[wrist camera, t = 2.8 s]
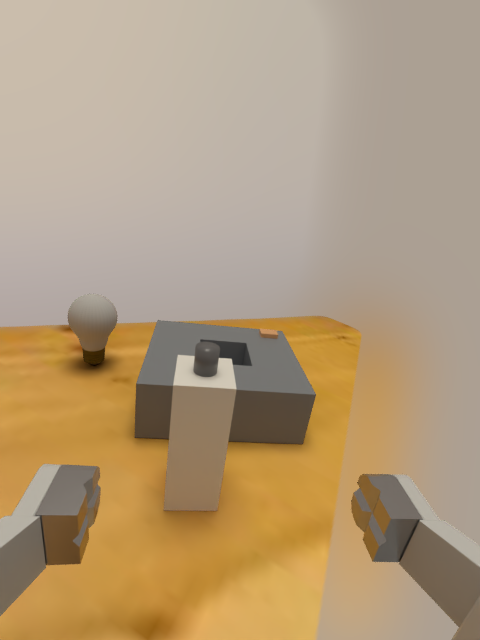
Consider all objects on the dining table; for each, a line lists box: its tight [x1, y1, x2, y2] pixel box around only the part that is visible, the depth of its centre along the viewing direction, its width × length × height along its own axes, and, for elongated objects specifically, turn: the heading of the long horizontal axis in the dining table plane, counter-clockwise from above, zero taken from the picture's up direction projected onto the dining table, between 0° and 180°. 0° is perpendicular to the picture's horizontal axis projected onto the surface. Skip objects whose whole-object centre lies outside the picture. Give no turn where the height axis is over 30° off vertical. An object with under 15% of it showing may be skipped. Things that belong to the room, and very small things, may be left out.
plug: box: [164, 342, 237, 511], centre depth 27 cm, size 4×4×14 cm
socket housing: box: [135, 320, 316, 444], centre depth 41 cm, size 18×16×7 cm
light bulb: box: [68, 294, 117, 365], centre depth 44 cm, size 6×6×10 cm
